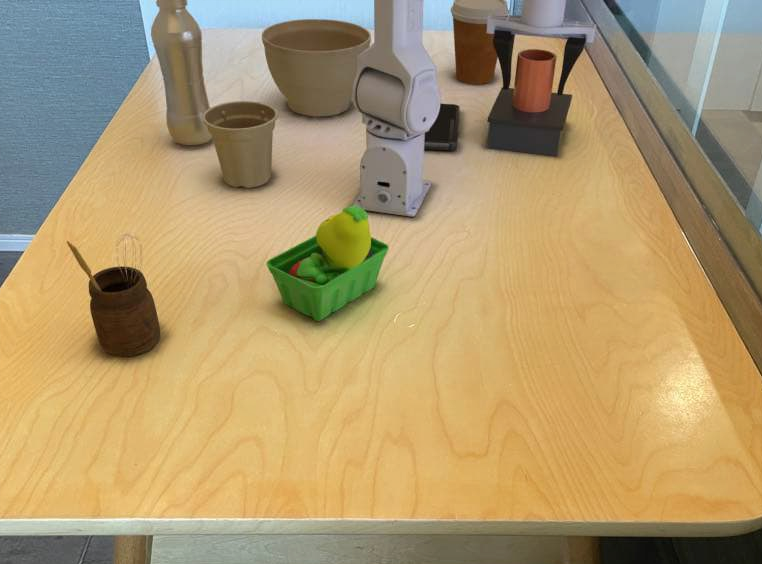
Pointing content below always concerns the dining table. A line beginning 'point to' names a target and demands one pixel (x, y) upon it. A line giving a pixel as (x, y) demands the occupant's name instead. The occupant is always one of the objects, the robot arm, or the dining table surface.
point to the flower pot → (243, 140)
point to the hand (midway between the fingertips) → (533, 90)
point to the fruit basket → (330, 265)
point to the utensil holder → (121, 308)
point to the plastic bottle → (181, 71)
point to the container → (527, 125)
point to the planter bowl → (315, 62)
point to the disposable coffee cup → (475, 39)
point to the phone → (444, 129)
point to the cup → (534, 80)
